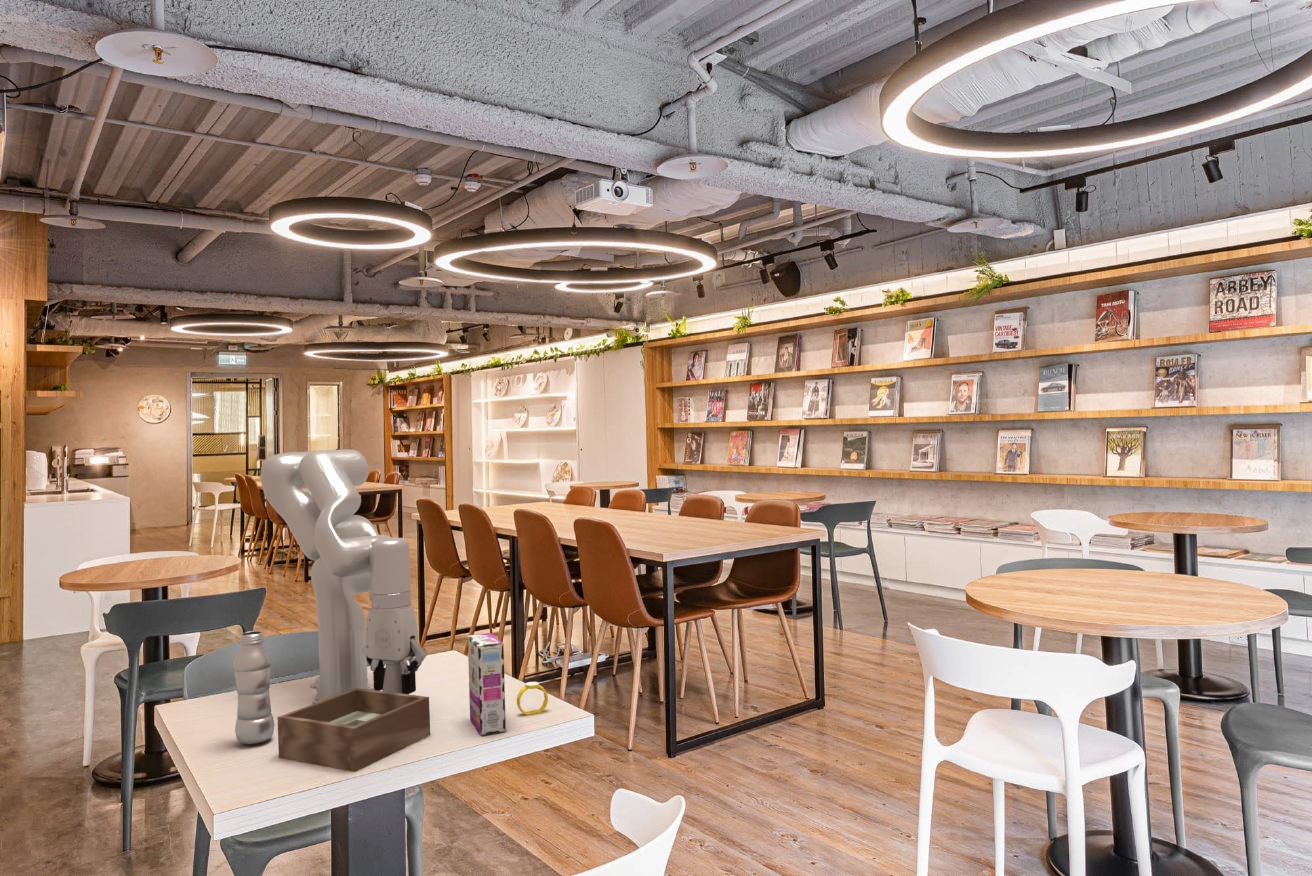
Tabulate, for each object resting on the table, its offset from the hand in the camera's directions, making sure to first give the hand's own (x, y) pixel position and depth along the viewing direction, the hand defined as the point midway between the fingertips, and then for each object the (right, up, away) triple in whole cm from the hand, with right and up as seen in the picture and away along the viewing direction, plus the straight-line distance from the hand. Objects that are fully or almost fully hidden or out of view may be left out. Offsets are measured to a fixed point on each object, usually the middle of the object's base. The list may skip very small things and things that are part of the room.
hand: (394, 690), depth 163 cm
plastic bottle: (-22, -6, -12) cm, 26 cm away
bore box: (-2, -5, -16) cm, 17 cm away
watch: (+28, -4, -1) cm, 28 cm away
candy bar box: (+20, -5, -7) cm, 22 cm away
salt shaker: (0, -5, 0) cm, 5 cm away
